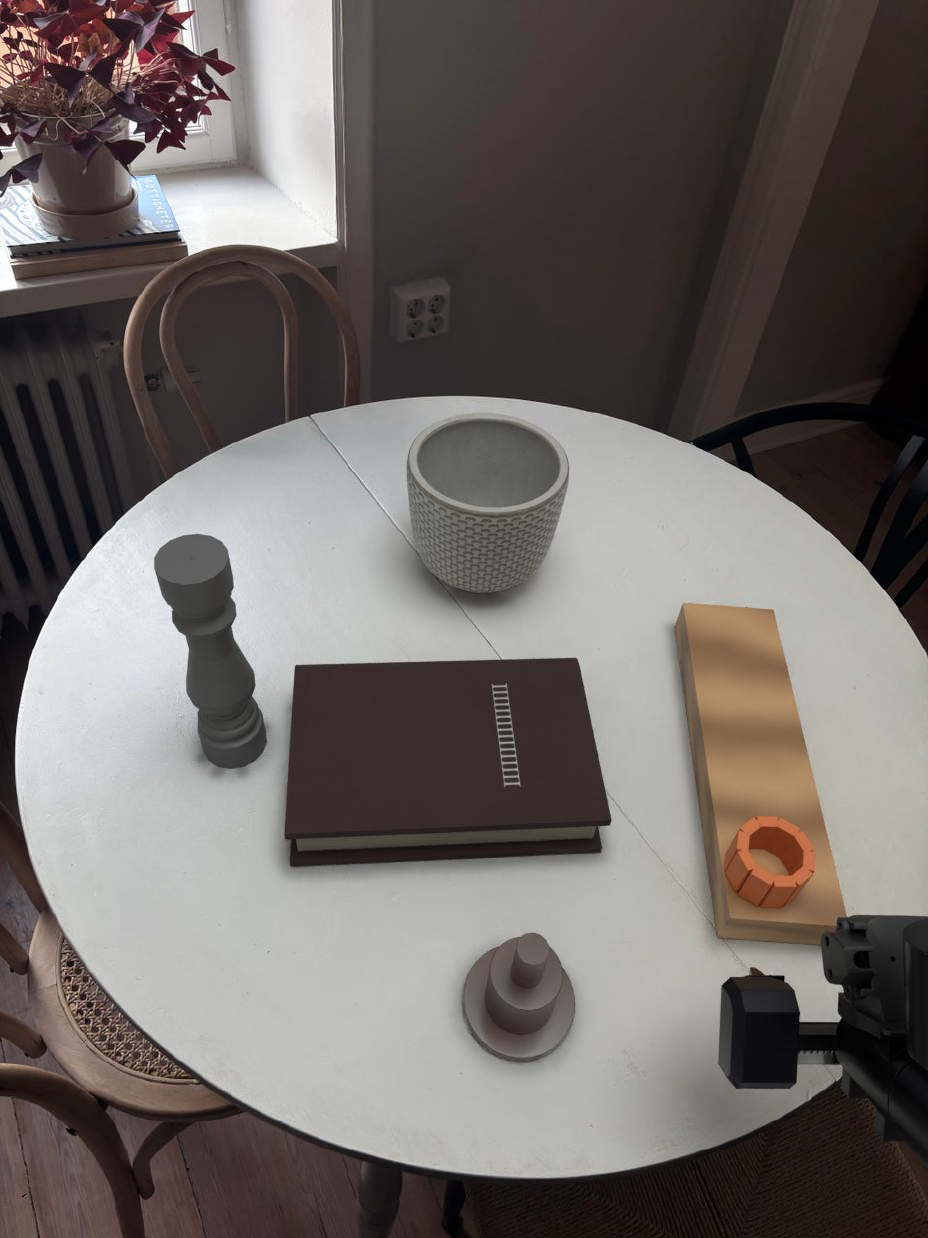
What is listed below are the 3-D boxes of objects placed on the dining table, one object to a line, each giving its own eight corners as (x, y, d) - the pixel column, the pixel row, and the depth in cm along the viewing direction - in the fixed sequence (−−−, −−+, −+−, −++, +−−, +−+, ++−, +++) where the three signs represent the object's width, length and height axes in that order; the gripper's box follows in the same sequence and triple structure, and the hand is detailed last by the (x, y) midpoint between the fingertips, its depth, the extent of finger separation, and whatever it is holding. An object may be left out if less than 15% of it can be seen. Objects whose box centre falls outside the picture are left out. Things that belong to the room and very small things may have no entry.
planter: (526, 640, 99) (543, 532, 88) (382, 595, 103) (379, 486, 91) (569, 542, 110) (589, 434, 99) (437, 504, 114) (442, 396, 102)
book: (567, 684, 96) (576, 648, 91) (600, 852, 83) (611, 820, 78) (300, 692, 93) (295, 655, 89) (290, 867, 80) (284, 834, 76)
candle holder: (280, 742, 89) (248, 559, 70) (228, 780, 86) (180, 599, 67) (241, 706, 92) (201, 520, 73) (189, 741, 88) (133, 557, 70)
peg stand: (596, 1011, 73) (621, 958, 65) (514, 1087, 69) (529, 1041, 61) (521, 927, 78) (536, 867, 69) (440, 994, 73) (445, 939, 65)
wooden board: (832, 946, 78) (849, 927, 75) (717, 937, 78) (729, 918, 75) (762, 633, 102) (773, 609, 99) (674, 626, 102) (682, 602, 99)
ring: (809, 908, 76) (826, 887, 73) (732, 908, 75) (745, 886, 73) (789, 839, 80) (804, 816, 77) (716, 838, 80) (728, 815, 77)
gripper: (1115, 957, 49) (948, 865, 65) (776, 953, 48) (690, 861, 64) (1102, 1157, 49) (940, 1017, 65) (767, 1156, 49) (684, 1015, 64)
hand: (815, 974), depth 64 cm, fingers open, 9 cm apart
